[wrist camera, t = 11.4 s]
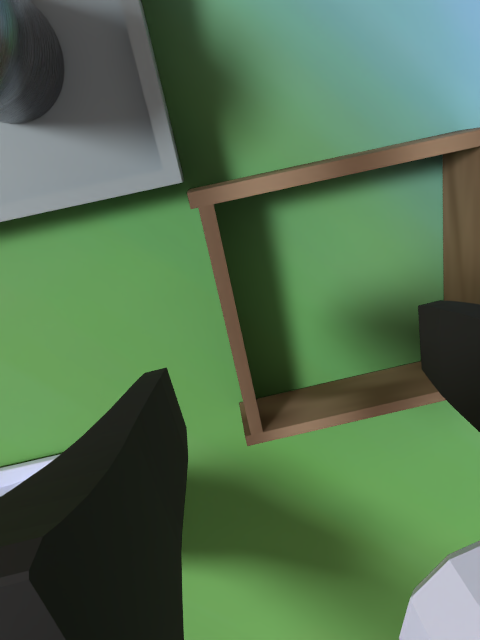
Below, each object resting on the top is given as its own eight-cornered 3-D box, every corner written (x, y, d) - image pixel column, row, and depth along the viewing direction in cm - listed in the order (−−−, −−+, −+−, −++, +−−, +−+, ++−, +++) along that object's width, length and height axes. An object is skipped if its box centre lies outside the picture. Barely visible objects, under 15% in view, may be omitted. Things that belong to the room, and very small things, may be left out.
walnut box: (241, 411, 23) (247, 446, 20) (188, 189, 18) (187, 193, 15) (459, 361, 23) (496, 388, 20) (461, 130, 18) (508, 123, 16)
